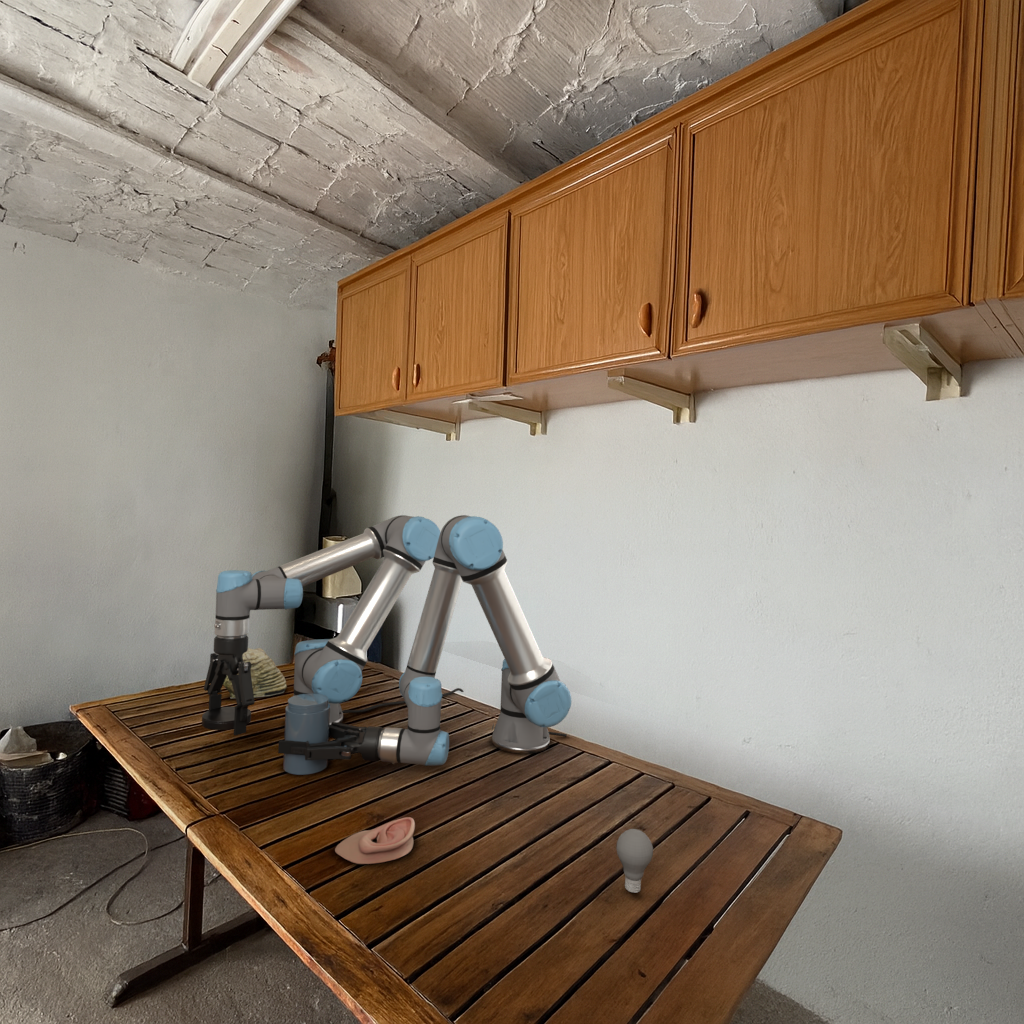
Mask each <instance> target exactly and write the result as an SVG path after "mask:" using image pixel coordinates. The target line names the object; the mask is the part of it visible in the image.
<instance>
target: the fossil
mask: <svg viewBox="0 0 1024 1024" xmlns="http://www.w3.org/2000/svg"><path fill="white" fill-rule="evenodd" d="M242 656H243V662H251V679H252V687H253V694H254V698H264V697H271V696H275V695H281V694H284V693H285V691H286V689H287V687H288V686H287V680H286V678H285V676H284V674H283V673H282V672H281V669H279V668H278V667H277V665H276V663H275V662H274V660H273V659H272V658H271V657H270V656H269V655H268V654H267V653H266V652H265V650H264V649H263V648H260V647H258V648H251V647H248V650H247V651H246V652H245V653H244V654H243V655H242ZM237 675H238V674H237ZM223 687H224V688H225V690H226V691H228V693H229V698H230V699H236V698H235V694H234V690H233V686H232V682H231V681H230V680H229V679H228V676H227V677H226V679H225V681H224V683H223Z"/></svg>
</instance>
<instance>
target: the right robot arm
mask: <svg viewBox="0 0 1024 1024" xmlns="http://www.w3.org/2000/svg"><path fill="white" fill-rule="evenodd" d="M431 563H432V565H433V567H434V570H433V572H432V573H433V574H432V576H431V580H430V584H429V587H428V591H427V594H426V597H425V601H424V605H423V608H422V612H421V615H420V617H419V622H418V625H417V629H416V633H415V636H414V639H413V642H412V647H411V650H410V654H409V656H408V661H407V664H406V668H405V670H404V672H403V673H402V674H401V675H400V677H399V679H398V688H399V689H398V690H399V693H400V696H401V697H402V698H403V701H405V703H404V704H405V705H406V707H407V728H401V727H390V726H389V727H388V726H386V727H385V728H383V727H382V726H372V725H371V726H370V725H369V726H357V725H353V724H347V723H343V722H342V723H337V722H332V723H331V725H330V724H329V739H330V738H331V739H333V740H329V742H321V743H313V744H309V741H306V742H301V741H287V740H284V739H279V740H278V746H277V747H278V748H277V753H278V754H283V755H284V754H297V755H305V760H326V759H328V760H346V761H349V760H352V759H351V758H352V755H353V754H354V755H355V754H360V755H361V758H362V760H363V761H366V762H379V761H381V762H383V763H384V762H385V763H391V764H392V765H395V764H397V763H398V764H410V765H419V766H420V765H421V766H425V767H427V766H435V767H437V766H443V765H445V764H446V762H447V760H448V757H449V752H450V751H449V750H450V734H449V732H448V731H444V730H441V714H442V699H443V697H442V694H443V692H442V681H440V679H438V678H435V677H436V674H437V670H438V667H439V663H440V660H441V656H442V653H443V649H444V646H445V642H446V638H447V635H448V632H449V629H450V625H451V622H452V618H453V615H454V611H455V607H456V604H457V600H458V597H459V594H460V590H461V587H462V583H465V584H468V585H471V587H472V589H473V591H474V594H475V596H476V598H477V600H478V602H479V605H480V607H481V609H482V612H483V613H484V616H485V618H486V621H487V622H488V625H489V627H490V629H491V631H492V633H493V636H494V638H495V641H496V642H497V645H498V647H499V649H500V652H501V654H502V656H503V660H502V664H501V665H502V666H501V669H500V670H501V671H500V672H501V682H500V683H501V685H500V707H499V709H500V710H499V715H498V717H497V721H496V723H494V722H493V723H492V726H491V731H492V738H491V743H492V745H493V746H494V747H496V748H497V749H499V750H500V751H504V752H506V753H512V754H519V755H527V754H529V755H531V754H537V753H539V752H543V751H545V750H547V749H548V748H549V747H550V743H551V741H550V739H551V737H550V736H558V737H564V738H567V736H568V735H567V733H561V732H554V731H549V729H548V728H551V727H554V726H557V725H559V724H560V723H561V722H563V720H564V719H566V717H567V716H568V714H569V711H570V709H571V708H572V701H573V700H572V694H571V691H570V690H569V688H568V686H567V685H566V684H565V683H564V682H563V681H561V679H560V677H559V675H558V673H557V670H556V668H555V666H554V663H553V661H552V660H551V659H550V658H548V657H546V656H544V655H542V651H541V650H540V647H539V645H538V643H537V641H536V639H535V636H534V633H533V632H532V629H531V627H530V625H529V622H528V620H527V618H526V616H525V613H524V611H523V609H522V606H521V604H520V602H519V600H518V598H517V595H516V593H515V591H514V589H513V586H512V584H511V582H510V580H509V577H508V575H507V573H506V567H507V564H508V559H507V556H506V555H505V551H504V541H503V536H502V533H501V532H500V530H499V528H498V527H497V526H496V525H495V524H494V523H492V522H491V521H490V520H488V519H486V518H484V517H481V516H475V515H474V516H472V515H471V516H470V515H466V514H464V515H463V514H461V515H456V516H454V517H452V518H450V519H449V520H447V522H445V524H443V526H442V528H441V529H440V535H439V539H438V543H437V547H436V551H435V555H434V558H432V561H431ZM336 726H337V727H336Z"/></svg>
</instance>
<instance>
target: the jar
mask: <svg viewBox="0 0 1024 1024" xmlns="http://www.w3.org/2000/svg"><path fill="white" fill-rule="evenodd" d="M328 702H329V699H328V697H327V696H325V695H322V694H300V695H296V696H294V695H292V696H291V697H289V698H288V699H287V705H286V707H285V710H284V711H285V713H284V735H283V737H284V739H283V740H287V741H301V742H306V741H309V744H313V743H321V742H329V741H330V738H329V723H330V704H328ZM282 764H283V765H282V766H283V767H282V769H283V771H284V772H286V773H288V774H291V775H298V776H302V775H303V776H305V775H312V774H316V773H319V772H322V771H323V770H325V769H327V767H328V765H329V759H326V760H305V755H297V754H284V753H283V763H282Z"/></svg>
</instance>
